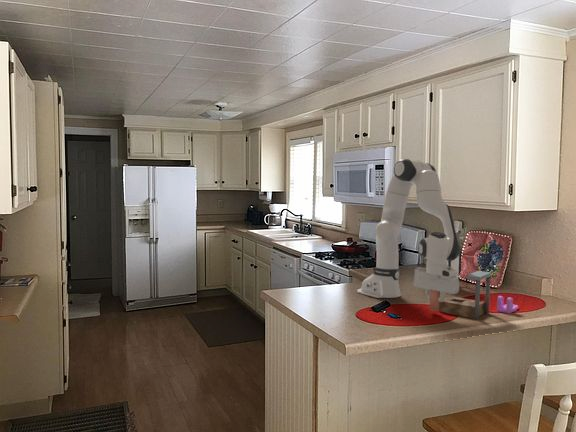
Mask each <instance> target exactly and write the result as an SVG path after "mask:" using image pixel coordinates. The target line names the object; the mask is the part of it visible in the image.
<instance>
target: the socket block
mask: <svg viewBox="0 0 576 432" xmlns="http://www.w3.org/2000/svg"><path fill="white" fill-rule="evenodd" d="M439 311H440V312H439ZM439 311H438V312H439V313H444V312H445V314H448V315H449V314H450V315H453V316H454V315H455V316H459V317H464V318H465V317H466V318H469V319H474V316H475V299H468V298H463V297H457V296H451V295H450V296H448V297H445V298H443V302H439ZM484 314H485V301H480V304H479V317H480V316H481V315H484Z"/></svg>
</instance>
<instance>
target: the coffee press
mask: <svg viewBox="0 0 576 432" xmlns="http://www.w3.org/2000/svg"><path fill="white" fill-rule="evenodd" d="M459 244H460V245H461V243H460V242H459ZM447 266H449V267H450V268H452V269H454V270H456V271H458V275H457V277H458V279H460V275H461V271H462V251H461V250H460V255H459V256H458V257H457V258H456V259H455V260H453V261H452V260H447ZM461 288H462V287H461V284H459V289H461Z"/></svg>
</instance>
